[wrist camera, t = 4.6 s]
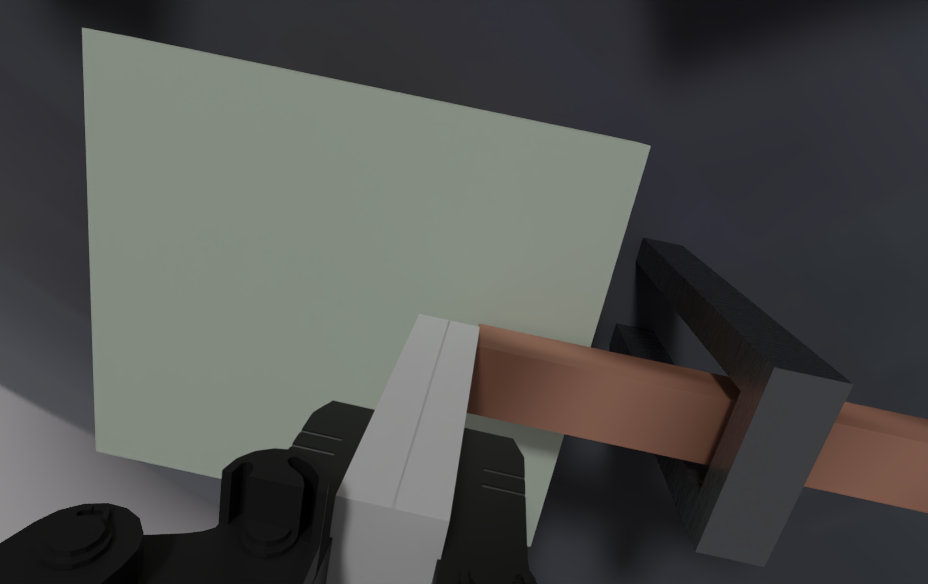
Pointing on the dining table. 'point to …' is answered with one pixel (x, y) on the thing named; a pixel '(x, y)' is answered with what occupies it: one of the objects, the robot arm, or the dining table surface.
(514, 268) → the lid
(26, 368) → the dining table surface
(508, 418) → the brown flat bar
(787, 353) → the keeper
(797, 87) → the dining table surface
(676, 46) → the dining table surface
